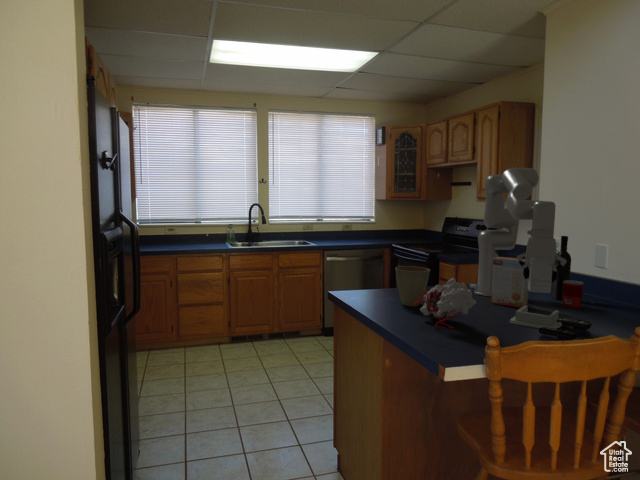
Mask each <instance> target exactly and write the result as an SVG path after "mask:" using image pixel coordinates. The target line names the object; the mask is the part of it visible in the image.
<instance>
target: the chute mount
mask: <svg viewBox="0 0 640 480" xmlns="http://www.w3.org/2000/svg"><path fill="white" fill-rule="evenodd" d="M528 307H529V306H528V305H527V306H523V307H522V308H518V309H517V310H516V311H515V315H514V316H513V317H511V318H510V319H509V324H513V325H518V326H523V327H530V328H535V329H540V328H541V327H549V328H559V329H560V328H561V327H562V326H563V325H562V323H561V322H557V320H558V319H560V318H559V315H560V310H557V309H556V310H554V311H552V313H551V314H549V315H548V314H547V315H545V314H539V313H533V312H528V311H529V310H528Z"/></svg>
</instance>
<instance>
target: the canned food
mask: <svg viewBox="0 0 640 480" xmlns="http://www.w3.org/2000/svg"><path fill="white" fill-rule="evenodd" d="M584 287H585V283H584V282H583V281H579V280H571V279H570V280H565V281H563V291H562V300H561V305H562V306H563V307H565V308H571V309H581V308H582V307H583V302H584V301H583V299H584Z"/></svg>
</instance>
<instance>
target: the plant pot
mask: <svg viewBox="0 0 640 480" xmlns="http://www.w3.org/2000/svg"><path fill="white" fill-rule="evenodd" d="M394 271H395V279H396V285H397V289H398V293H399V298H400V301H401V304H402V305H404V306H407V307H419V306H420V305H421V302H422V301H419V302H417V301H418V300H420V299H422V298H424V295H425V292H426V291H425V290H424V289H426V290H427V285H428V282H429V279H430V275H431V273H430V272H431V269H430V268H428V267H427V268H426V267H422V266H415V265H414V266H413V265H401V266H400V265H399V266H396V267H395V270H394ZM424 291H425V292H424ZM422 292H423V293H422ZM421 293H422V294H421ZM417 298H418V299H417ZM416 300H417V301H416ZM415 301H416V302H417V303H416V302H415ZM414 302H415V303H416V304H415V306H413V304H414Z"/></svg>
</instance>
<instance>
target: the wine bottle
mask: <svg viewBox="0 0 640 480" xmlns="http://www.w3.org/2000/svg"><path fill="white" fill-rule="evenodd" d="M568 242H569V236H568V235H560V249H559V250H560V251H558V252H557V255H559V256H560V257H562V258H564V259H565V260H566V261H567V262H566V263H565V264H564V266H563V267H562V268H561V269H559V270H558V271H557V280H555V282H552V284H553V285H552V298H553V299H555V300H558V301H562V291H563V281H565V280H571V268H572V256H571V254H570V253H569V252H568ZM560 263H561V261H559V260H558V259H556V263H555V264H556V266H559V265H560Z"/></svg>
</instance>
